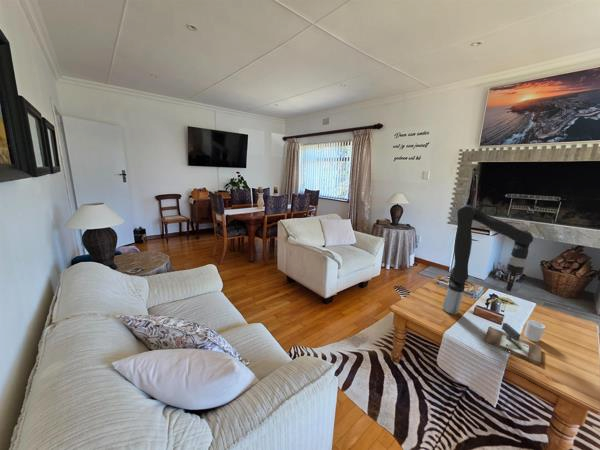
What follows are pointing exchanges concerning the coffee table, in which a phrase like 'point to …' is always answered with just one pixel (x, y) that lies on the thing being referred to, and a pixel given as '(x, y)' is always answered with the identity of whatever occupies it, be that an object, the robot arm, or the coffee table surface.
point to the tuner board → (527, 351)
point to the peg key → (511, 333)
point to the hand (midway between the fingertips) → (509, 288)
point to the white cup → (534, 330)
